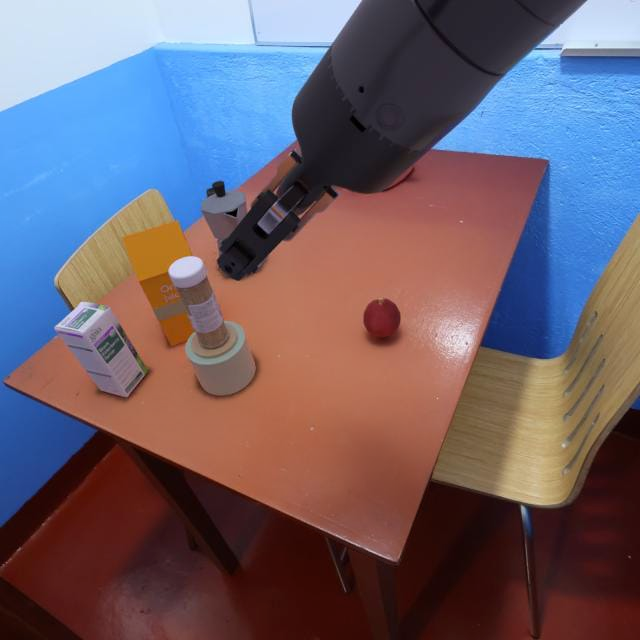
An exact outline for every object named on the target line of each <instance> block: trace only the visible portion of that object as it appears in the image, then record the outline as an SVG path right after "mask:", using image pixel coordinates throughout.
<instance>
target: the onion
mask: <svg viewBox="0 0 640 640" xmlns="http://www.w3.org/2000/svg"><path fill="white" fill-rule="evenodd" d="M362 317H363V318H362V319H363V320H362V321H363V325H364V327H365V329H366V330H367V332H368V333H369V334H371V335H373V336H376V337H378V338H379V337H382V338H385V337H388V336H391V335H393V334H394V333H396V332H397V330H398V329H399V327H400V325H401V320H402V319H401V317H402V315H401V311H400V309H399V307H398V306H397V304H396V303H395V302H394V301H392V300H391V299H389V298H384V297H377V298H376V299H373V300H372V301H370V302H369V303H368V304H367V305H366V307H365V309H364V311H363V316H362Z"/></svg>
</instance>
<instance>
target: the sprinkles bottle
mask: <svg viewBox="0 0 640 640" xmlns="http://www.w3.org/2000/svg"><path fill="white" fill-rule="evenodd" d="M168 273H169V276H170V278H171V280H172V283H173V284H174V285H175V287H176V288H177V290H178V293H179V295H180V297H181V300H182V302H183V304H184V307H185V310H186V312H187V315H188V317H189V319H190V322H191V324H192V326H193V328H194V330H195V332H196V334H197V336H198V339H199V343H200V345H201V346H203V347H204V348H209V349H212V348H216V347H219V346H221V345H223V344H224V343H225V342H226V341H227V340H228V338H229V332H228V329H227V328H226V326H225V323H224V321H225V320H224V317H223V314H222V311H221V308H220V306H219V303H218V300H217V298H216V295H215V292H214V290H213V288H212V286H211V283H210V280H209V278H208V271H207V269H206V265H205V263H204V261H203V260H202V259H201V258H200V257H198V256H194V255H193V256H189V257H184V258H181V259H179V260H177V261H175V262H174V263H173V264H172V265H171V266H170V268H169V271H168Z"/></svg>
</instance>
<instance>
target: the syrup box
mask: <svg viewBox="0 0 640 640" xmlns="http://www.w3.org/2000/svg"><path fill="white" fill-rule="evenodd" d="M53 328H54V331H55V332H56V333H57V335H58V336H59V337H60V339H61V340H62V341H63V343H64V344H65V345H66V347H67V348H68V350H70V352H71V353H72V355H73V356H74V357H75V359H76V360H77V361H78V362H79V364H80V365H81V367H82V368H83V370H84V371H85V372H86V373H87V375H88V376H89V377H90V379H91V380H92V381H93V383H94V384H95V385H96V387H97V388H98V389H99V391H101V392H105V393H108V394H112V395H115V396H119V397H123V398H129V397H130V395H131V393H132V392H133V391H134V389H135V388H136V387H137V386H138V385H139V383H140V382H141V381H142V380H143V378H144V377H145V376H146V375H147V374H148V372H149V369H148V367H147V366H146V365H145V363H144V361H143V360H142V358H141V356H140V355H139V353H138V351H137V349H136V348H135V346H134V345H133V343H132V341H131V340H130V338H129V336H128V335H127V333H126V332H125V330H124V328H123V326H122V325H121V323H120V322H119V320H118V318H117V317H116V315H115V313H114V312H113V310H112V309H111V307H110V306H108V305H104V304H99V303H94V302H88V301H80V302H79V303H78V304H77V306H76V307H75V308H73V310H72V311H70V312H69V313H68V314H67V315H66V316H64V318H63V319H62V320H61V321H60V322H58V323H57V324H56V325H55V326H54V327H53Z"/></svg>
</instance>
